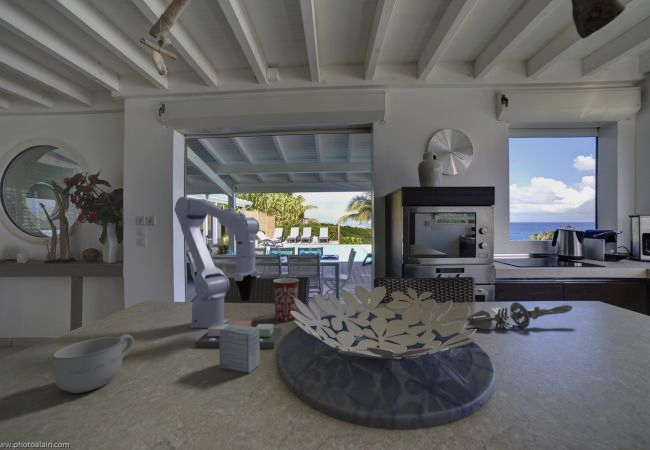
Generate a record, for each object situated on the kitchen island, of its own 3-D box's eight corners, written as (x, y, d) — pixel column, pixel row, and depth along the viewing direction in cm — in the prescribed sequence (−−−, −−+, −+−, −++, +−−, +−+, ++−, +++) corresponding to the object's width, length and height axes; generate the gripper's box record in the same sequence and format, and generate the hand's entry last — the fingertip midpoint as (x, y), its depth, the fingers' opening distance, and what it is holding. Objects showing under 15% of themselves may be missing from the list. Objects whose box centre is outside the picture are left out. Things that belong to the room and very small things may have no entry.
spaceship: (586, 305, 87) (563, 290, 94) (476, 320, 84) (461, 303, 92) (580, 326, 90) (558, 310, 97) (473, 341, 87) (459, 323, 95)
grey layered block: (260, 365, 66) (260, 327, 66) (249, 374, 61) (249, 333, 62) (231, 360, 68) (231, 323, 68) (218, 368, 64) (218, 329, 64)
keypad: (195, 347, 76) (195, 340, 76) (213, 332, 87) (213, 326, 87) (273, 348, 75) (273, 341, 75) (281, 333, 86) (281, 327, 86)
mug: (299, 321, 97) (299, 281, 97) (272, 322, 96) (272, 282, 96) (298, 311, 109) (298, 276, 110) (274, 312, 108) (274, 276, 109)
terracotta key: (230, 332, 79) (230, 325, 79) (236, 327, 83) (236, 320, 83) (246, 333, 79) (246, 325, 79) (251, 327, 83) (251, 320, 83)
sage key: (254, 336, 79) (254, 329, 79) (258, 330, 83) (258, 323, 83) (270, 336, 78) (270, 329, 78) (273, 331, 83) (273, 324, 83)
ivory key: (207, 336, 79) (207, 328, 79) (214, 330, 83) (214, 323, 84) (223, 336, 79) (223, 328, 79) (229, 330, 83) (229, 323, 83)
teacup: (64, 407, 50) (65, 361, 50) (43, 389, 56) (44, 348, 56) (148, 373, 62) (148, 336, 62) (124, 361, 68) (124, 327, 68)
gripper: (251, 258, 81) (251, 306, 81) (264, 254, 96) (264, 295, 95) (227, 258, 81) (227, 306, 81) (243, 254, 96) (243, 295, 96)
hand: (245, 300), depth 88 cm, fingers closed
